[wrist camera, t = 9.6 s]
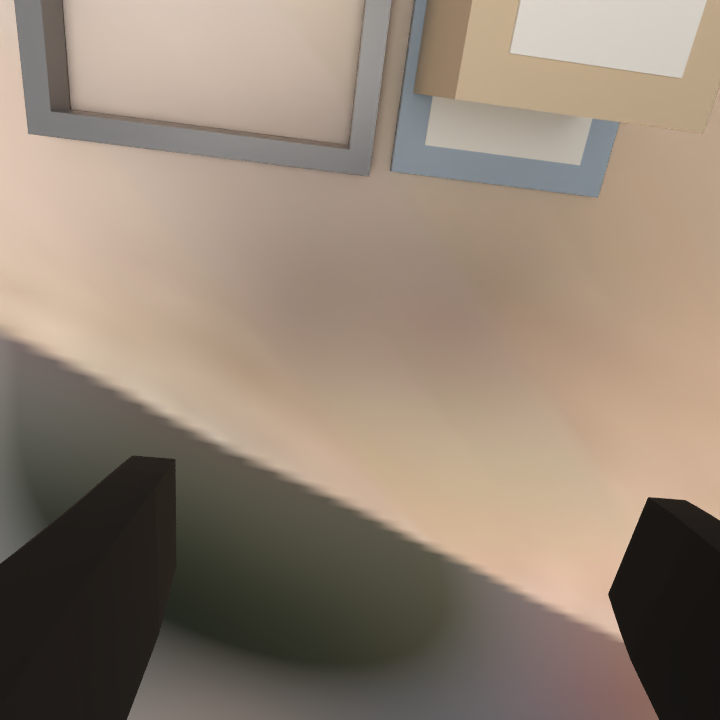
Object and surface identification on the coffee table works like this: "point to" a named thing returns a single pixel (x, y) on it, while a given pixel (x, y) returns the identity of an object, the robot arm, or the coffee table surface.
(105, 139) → the grey square frame
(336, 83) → the coffee table surface
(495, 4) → the box
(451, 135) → the pad
